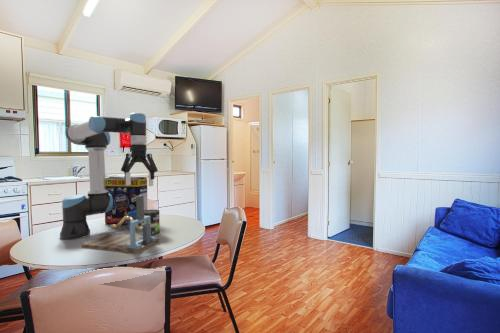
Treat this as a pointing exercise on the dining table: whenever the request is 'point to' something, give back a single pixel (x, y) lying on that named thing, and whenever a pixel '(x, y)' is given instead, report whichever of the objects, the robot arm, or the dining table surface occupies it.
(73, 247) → the dining table surface
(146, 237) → the buzz wire
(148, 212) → the coffee can
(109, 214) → the cereal box
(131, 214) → the blue rounded piece
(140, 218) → the grey frame
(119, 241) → the board
